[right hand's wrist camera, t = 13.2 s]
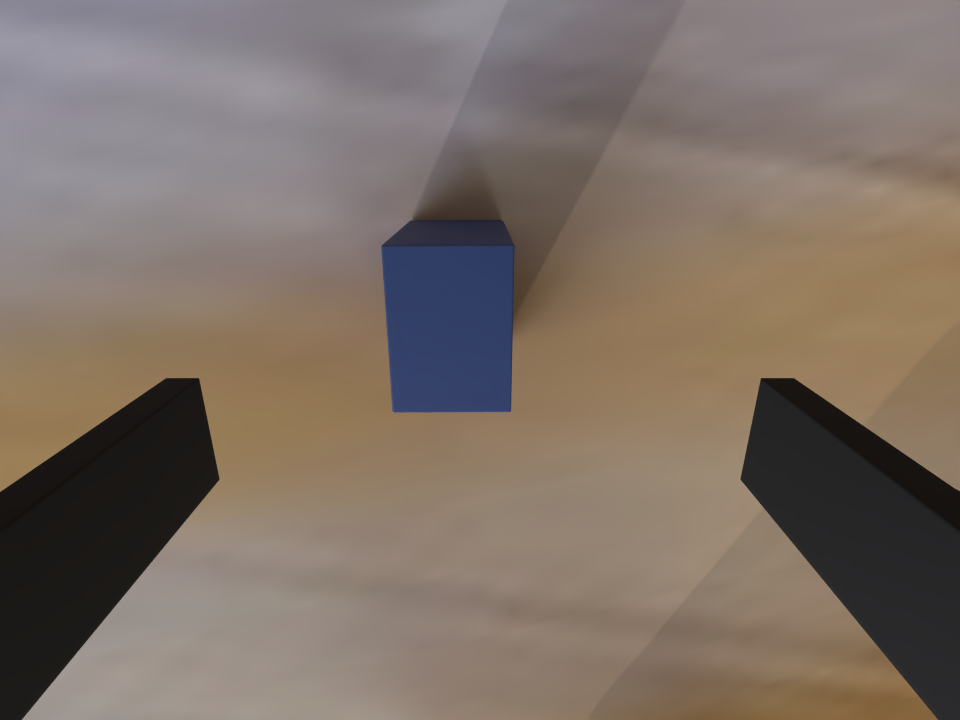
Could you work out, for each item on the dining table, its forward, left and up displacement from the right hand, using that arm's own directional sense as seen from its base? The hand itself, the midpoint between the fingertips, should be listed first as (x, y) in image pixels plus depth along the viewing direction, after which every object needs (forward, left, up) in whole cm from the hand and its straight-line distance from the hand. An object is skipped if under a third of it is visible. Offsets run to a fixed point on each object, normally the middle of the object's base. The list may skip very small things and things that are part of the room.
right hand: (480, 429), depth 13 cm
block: (+1, -1, -16) cm, 16 cm away
